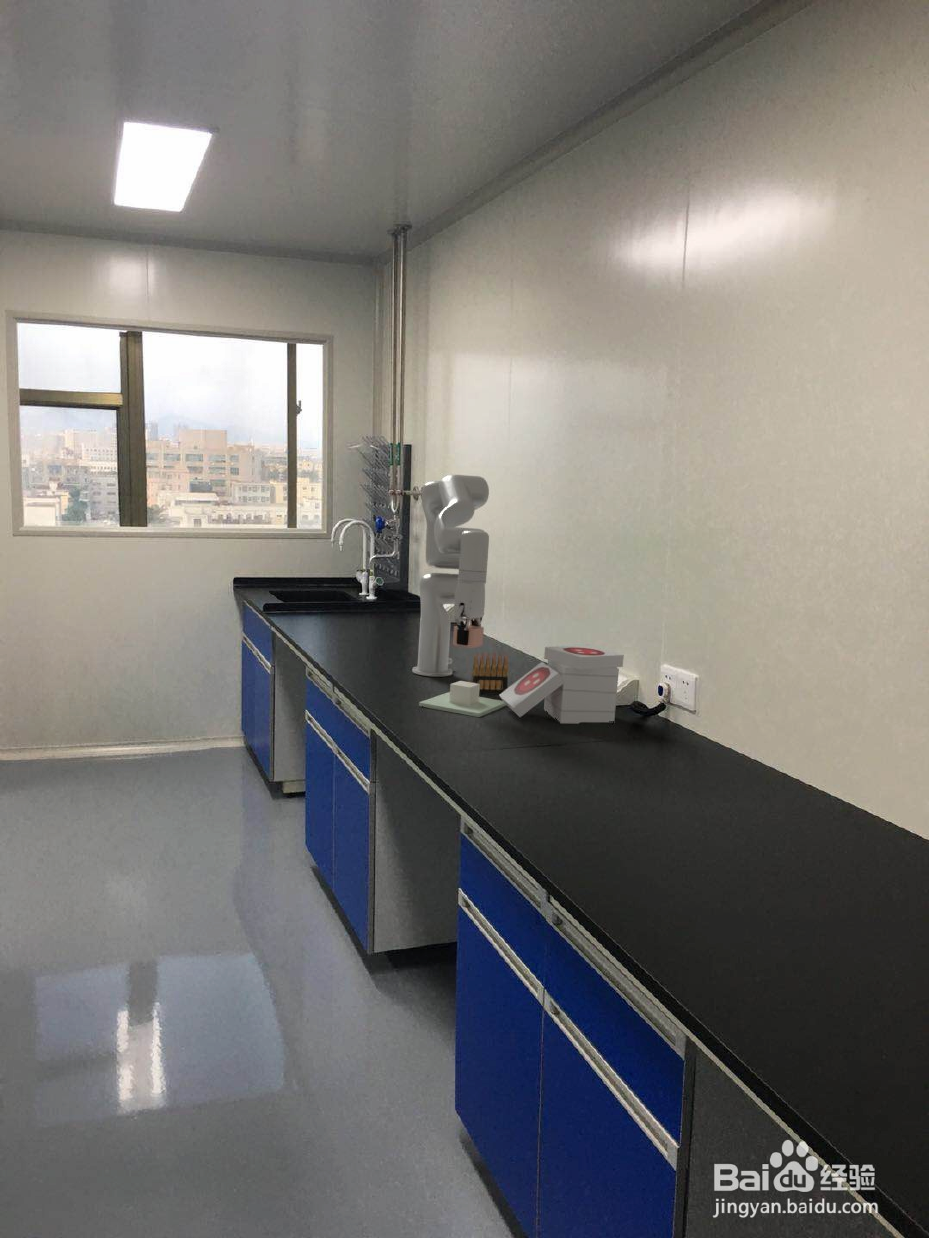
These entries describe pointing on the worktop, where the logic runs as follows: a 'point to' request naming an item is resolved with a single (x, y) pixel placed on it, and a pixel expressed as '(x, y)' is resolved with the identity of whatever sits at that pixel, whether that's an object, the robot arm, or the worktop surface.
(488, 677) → the ammunition clip
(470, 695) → the cream brick
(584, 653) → the pizza boxes
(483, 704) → the base plate
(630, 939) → the worktop surface
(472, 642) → the coral brick
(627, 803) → the worktop surface
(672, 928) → the worktop surface
